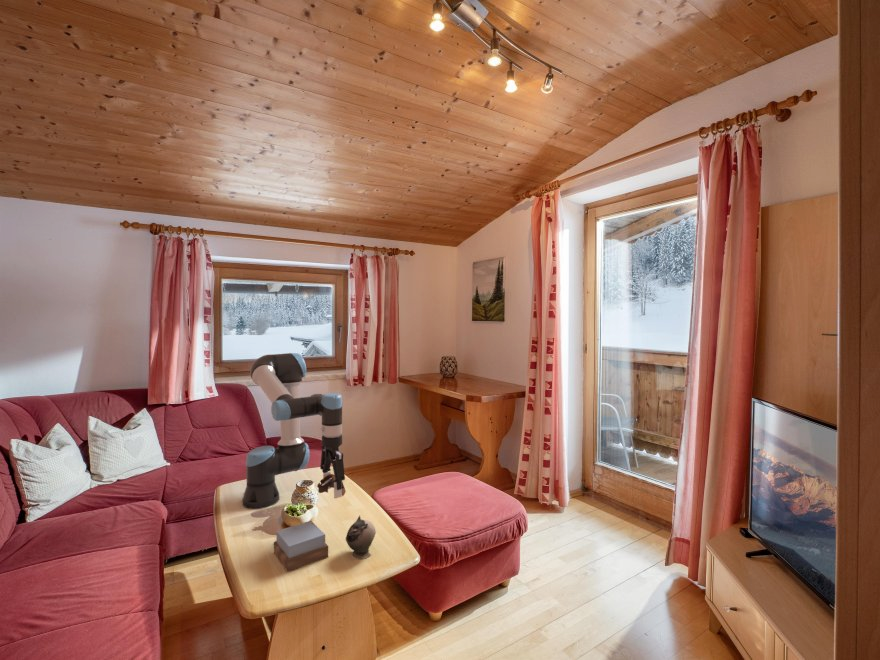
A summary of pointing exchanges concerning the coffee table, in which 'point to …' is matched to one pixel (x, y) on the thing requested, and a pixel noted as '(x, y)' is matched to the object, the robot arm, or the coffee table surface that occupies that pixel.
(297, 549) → the top brick
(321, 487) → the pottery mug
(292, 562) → the base brick
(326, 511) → the coffee table surface
